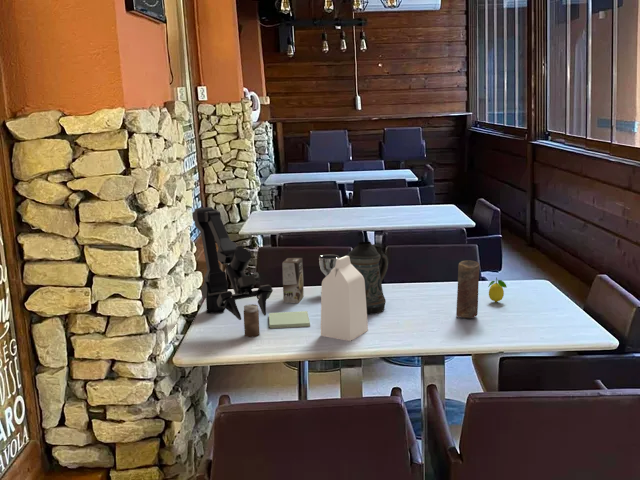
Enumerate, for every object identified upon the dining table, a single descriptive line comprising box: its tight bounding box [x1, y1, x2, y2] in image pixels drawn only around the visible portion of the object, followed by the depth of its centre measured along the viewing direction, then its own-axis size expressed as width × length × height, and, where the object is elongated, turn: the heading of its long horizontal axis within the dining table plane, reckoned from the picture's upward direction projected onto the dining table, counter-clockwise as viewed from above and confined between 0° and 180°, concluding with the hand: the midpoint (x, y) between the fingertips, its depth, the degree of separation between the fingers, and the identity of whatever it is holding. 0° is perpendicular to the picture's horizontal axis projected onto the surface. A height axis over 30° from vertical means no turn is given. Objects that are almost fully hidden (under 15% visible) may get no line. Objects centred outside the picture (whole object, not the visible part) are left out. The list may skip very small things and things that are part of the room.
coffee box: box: [281, 257, 305, 304], centre depth 279 cm, size 9×6×16 cm
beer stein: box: [346, 241, 389, 316], centre depth 266 cm, size 16×19×25 cm
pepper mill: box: [243, 303, 261, 338], centre depth 240 cm, size 5×5×10 cm
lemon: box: [488, 277, 508, 303], centre depth 269 cm, size 7×6×10 cm
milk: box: [320, 255, 369, 342], centre depth 237 cm, size 12×12×26 cm
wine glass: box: [318, 254, 340, 277], centre depth 288 cm, size 8×8×15 cm
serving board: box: [268, 310, 311, 329], centre depth 254 cm, size 14×14×1 cm
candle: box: [455, 259, 480, 320], centre depth 251 cm, size 8×7×20 cm
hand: (252, 317), depth 238 cm, fingers open, 9 cm apart
